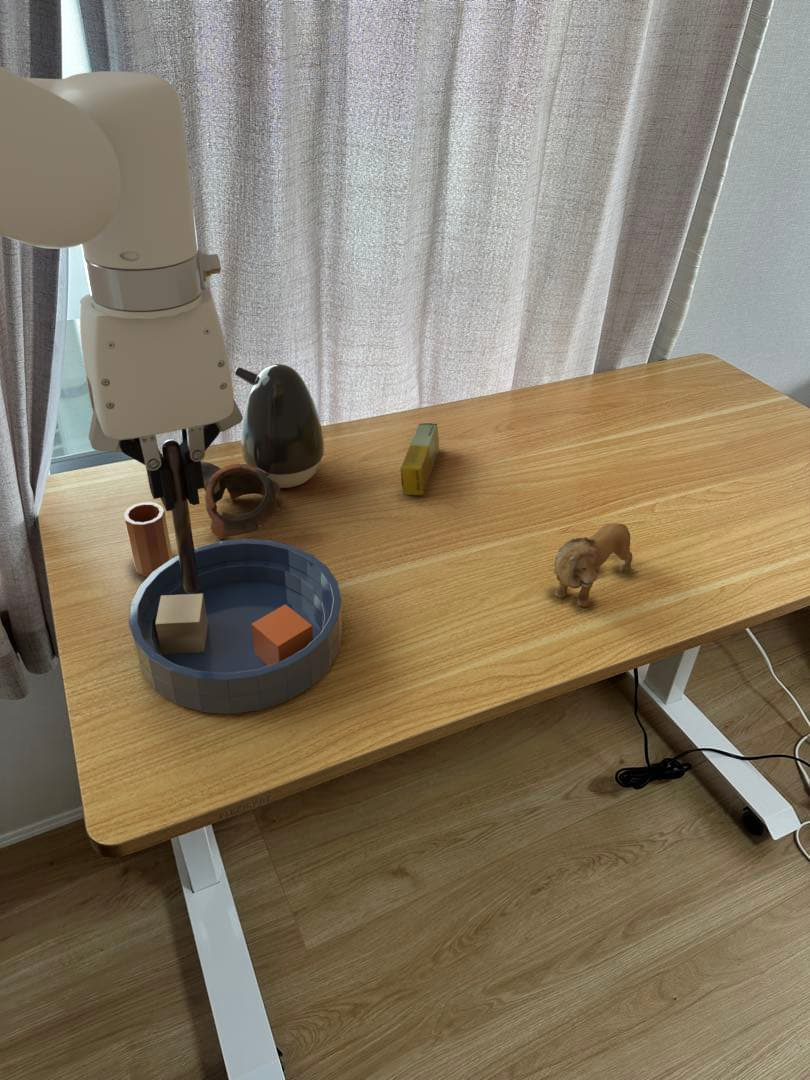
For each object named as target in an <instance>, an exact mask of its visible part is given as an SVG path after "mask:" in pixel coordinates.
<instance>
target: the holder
mask: <svg viewBox="0 0 810 1080" xmlns="http://www.w3.org/2000/svg"><path fill="white" fill-rule="evenodd" d="M165 511H166V510H165V508H164V507H163V505H161V504H159V503H156V502H151V501H150V502H149V501H148V502H147V501H144V502H139V503H135V504H133V505H131V506H130V507H128V508H127V509H125V511H124V514H123V515H122V516H123V520H124V525H125V530H126V533H127V534H126V535H127V538H128V543H129V548H130V553H131V557H132V562H133V565H134V569H135V572H136V573H137V574H139V575H140V576H143V577H146V578H147V577H148V576H149V575H150V574H151V573H152V572H153V571H154V570H156V569H157V568H159V567H160V566H162V565H163V564H165V563H166V562H167V561H169V560H170V559H172V558H174V555H173V551H172V545H171V539H170V533H169V529H168V522H167V517H166V513H165Z"/></svg>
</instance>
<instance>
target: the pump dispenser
mask: <svg viewBox="0 0 810 1080" xmlns="http://www.w3.org/2000/svg"><path fill="white" fill-rule="evenodd" d="M234 375H235V376H236V377H238V378H240V380H243V381H245V382H246V383H248V384H249V385H251V388H250V391H249V394H248V397H247V400H246V403H245V407H244V412H243V419H242V422H241V423H242V425H241V435H240V436H241V438H240V439H241V441H240V448H241V449H240V451H241V457H242V459H243V461H244V462H245V464H247V465H251V466H254V467H256V468H259V469H262V470H264V471H265V472H267V473H268V474H269V476H267V477H268V478H270V479H271V480H273V481H274V482H275V483H277V484H278V485H279V487H280V489H285V488H286V489H287V488H293V487H297V486H300V485H302V484H304V483H306V482H307V481H309V480H310V479H311V478H312V477H313V476H314V475H315V474H316V472H317V471H318V469H319V467H320V464H321V461H322V459H323V457H324V455H325V441H324V434H323V429H322V423H321V420H320V416H319V413H318V410H317V406H316V404H315V402H314V399H313V397H312V394H311V392H310V390H309V388H308V386H307V384H306V383H305V381H304V379H303V378H302V377H301V375H300V374H299V372H297V370H295V368H293V367H291V366H290V365H286V364H283V363H275V364H270V365H268V366H267V367H264V368H263V369H262V370H261V371H260V372H259V373H258V374H257V373H255V372H252V371H249V370H247V369H246V368H243V367H240V366H238V367H236V369H235V370H234Z"/></svg>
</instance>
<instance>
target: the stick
mask: <svg viewBox="0 0 810 1080" xmlns="http://www.w3.org/2000/svg"><path fill="white" fill-rule="evenodd" d="M161 451H162V452H161V453H162V456H163V459H164V462H165V463H166V464H167V466H168V468H169V471H170V476H171V483H172V489H173V496H174V502H175V508H173V510H171V516H172V522H173V523H172V524H173V529H174V535H175V542H176V548H177V556H178V555H179V562H180V568H181V575H182V581H183V588H184V590H185V591H186V592H187V593H189V594H193V593H195V592H197V591H198V589H199V580H198V572H197V565H196V558H195V551H194V548H195V545H194V544H195V543H194V536H193V529H192V522H191V516H190V515H191V514H190V508H189V501H188V499H187V495H186V488H185V481H184V473H183V466H182V457H181V449H180V443H179V442H178V441H177V440H175V439H167V440H165V441H164V442H163V444H162V445H161Z"/></svg>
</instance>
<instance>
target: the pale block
mask: <svg viewBox="0 0 810 1080" xmlns="http://www.w3.org/2000/svg"><path fill="white" fill-rule="evenodd" d="M155 625H156V630H157V634H158V639H159V644H160V649H161V653H162V654H180V653H199V652H205V644H206V636H207V628H208V620H207V614H206V608H205V601H204V595H203V594H184V595H161V598H160V603H159V608H158V613H157V618H156V623H155Z"/></svg>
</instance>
